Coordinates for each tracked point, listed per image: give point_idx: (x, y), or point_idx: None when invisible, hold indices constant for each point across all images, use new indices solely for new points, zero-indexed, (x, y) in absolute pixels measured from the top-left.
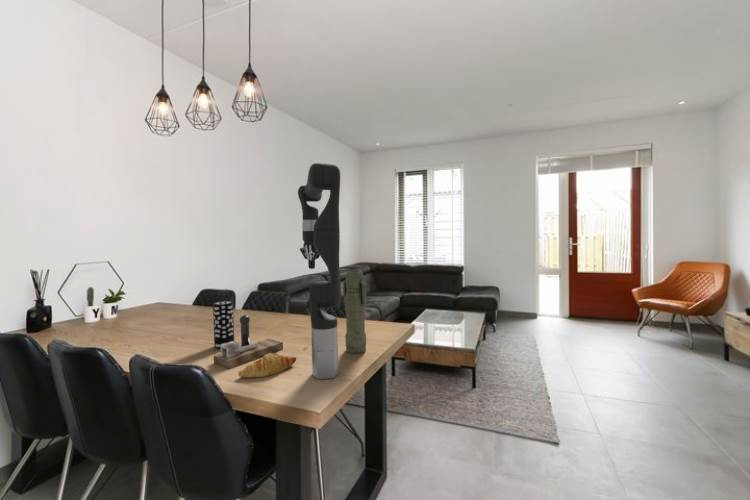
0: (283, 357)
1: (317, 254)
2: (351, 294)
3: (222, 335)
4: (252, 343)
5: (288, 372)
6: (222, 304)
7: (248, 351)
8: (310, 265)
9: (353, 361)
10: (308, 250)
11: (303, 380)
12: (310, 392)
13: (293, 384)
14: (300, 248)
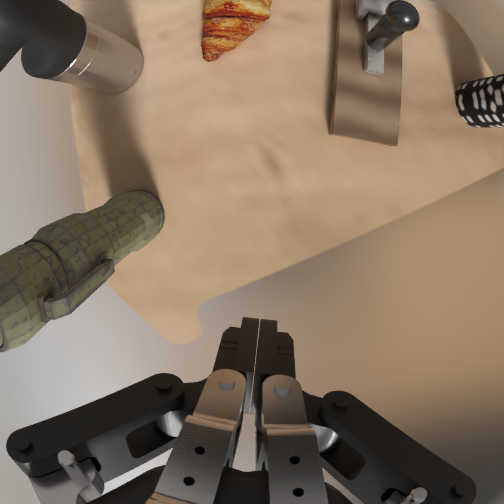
0: (209, 23)
1: (90, 411)
2: (34, 237)
3: (479, 81)
4: (368, 53)
5: (193, 29)
6: None
7: (356, 39)
8: (249, 333)
9: (107, 152)
10: (268, 498)
11: (140, 25)
12: (104, 10)
13: (146, 6)
14: (467, 500)
